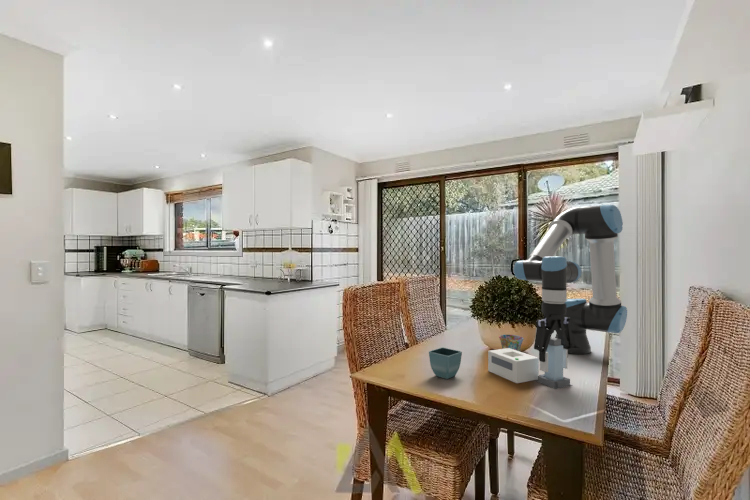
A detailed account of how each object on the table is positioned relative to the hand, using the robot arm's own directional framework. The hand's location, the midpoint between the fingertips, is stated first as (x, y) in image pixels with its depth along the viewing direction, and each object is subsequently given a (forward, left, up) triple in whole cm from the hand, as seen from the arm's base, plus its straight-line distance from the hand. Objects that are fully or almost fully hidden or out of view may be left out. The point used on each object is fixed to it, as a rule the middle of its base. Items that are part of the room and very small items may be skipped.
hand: (553, 369), depth 124 cm
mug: (-4, -25, -6) cm, 26 cm away
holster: (0, 0, -5) cm, 5 cm away
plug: (0, 0, -5) cm, 5 cm away
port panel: (+7, -12, -5) cm, 15 cm away
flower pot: (+29, -22, -6) cm, 36 cm away
